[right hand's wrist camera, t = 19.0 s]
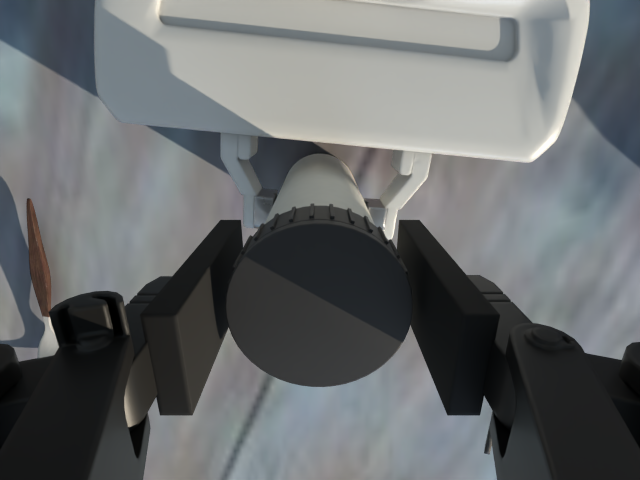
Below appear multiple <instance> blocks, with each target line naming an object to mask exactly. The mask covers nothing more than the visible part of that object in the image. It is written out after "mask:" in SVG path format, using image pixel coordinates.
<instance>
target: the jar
mask: <svg viewBox="0 0 640 480" xmlns="http://www.w3.org/2000/svg"><path fill="white" fill-rule="evenodd" d="M312 203H314V206H329V204H333V207H338V208H342V209H346V210H347V209H348V208H350V209H351V210H352V212H354V213H356V214H358V215H360V216H362V217H364V216H367V217H368V219H369V221H370V222H371V223H373V224H374V222H373V220H372V218H371V215H370V213H369V211H368V209H367V207H366V204H365V202H364V200H363V198H362V196H361V193H360V191H359V189H358V187H357V184H356V182H355V180H354V178H353V176H352V173H351V172H350V170H349V168H348V167H347V166H346V165H345V164H344V163H343V162H342V161H341V160H339V159H338V158H336V157H334V156H331V155H328V154H312V155H308V156H306V157H304V158H302V159H300V160H299V161H297V162H296V163H295V164H294V165H293V166H292V168H291V169H290V171H289V172H288V174H287V176H286V179H285V181H284V183H283V185H282V187H281V189H280V192H279V194H278V196H277V198H276V200H275V202H274V205H273V207H272V209H271V211H270V213H269V215H268V218H267V220H266V222H265V224H266V223H267V222H269V221H270V220H271V219H273V218H274V216H275V214H277V213H278V214H279V215H280V214H282V213H285V212H287V211H290V210H292V207H296V208H301V207H306V206H310V204H312ZM374 225H375V224H374Z"/></svg>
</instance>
